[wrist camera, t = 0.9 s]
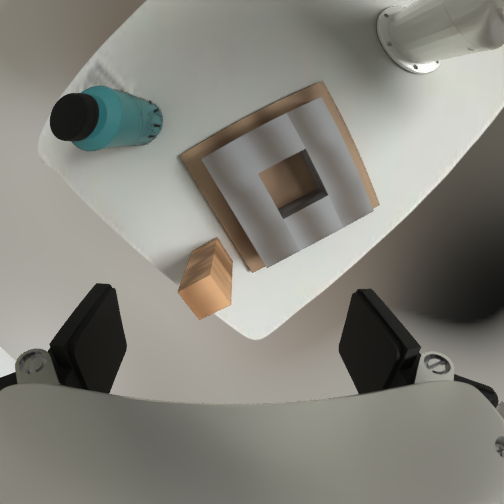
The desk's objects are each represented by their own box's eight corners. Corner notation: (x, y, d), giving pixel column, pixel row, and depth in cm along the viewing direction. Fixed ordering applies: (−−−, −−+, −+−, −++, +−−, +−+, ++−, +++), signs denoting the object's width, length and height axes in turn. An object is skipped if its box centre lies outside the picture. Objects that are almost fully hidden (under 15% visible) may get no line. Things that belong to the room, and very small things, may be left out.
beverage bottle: (165, 145, 36) (100, 156, 18) (122, 145, 35) (35, 160, 17) (169, 100, 34) (107, 70, 15) (125, 102, 33) (40, 84, 15)
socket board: (320, 82, 33) (334, 74, 28) (376, 203, 41) (395, 214, 35) (180, 155, 37) (171, 158, 31) (252, 270, 44) (254, 289, 38)
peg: (217, 237, 42) (209, 274, 31) (232, 260, 43) (231, 304, 32) (192, 251, 42) (177, 292, 31) (208, 274, 44) (199, 320, 33)
